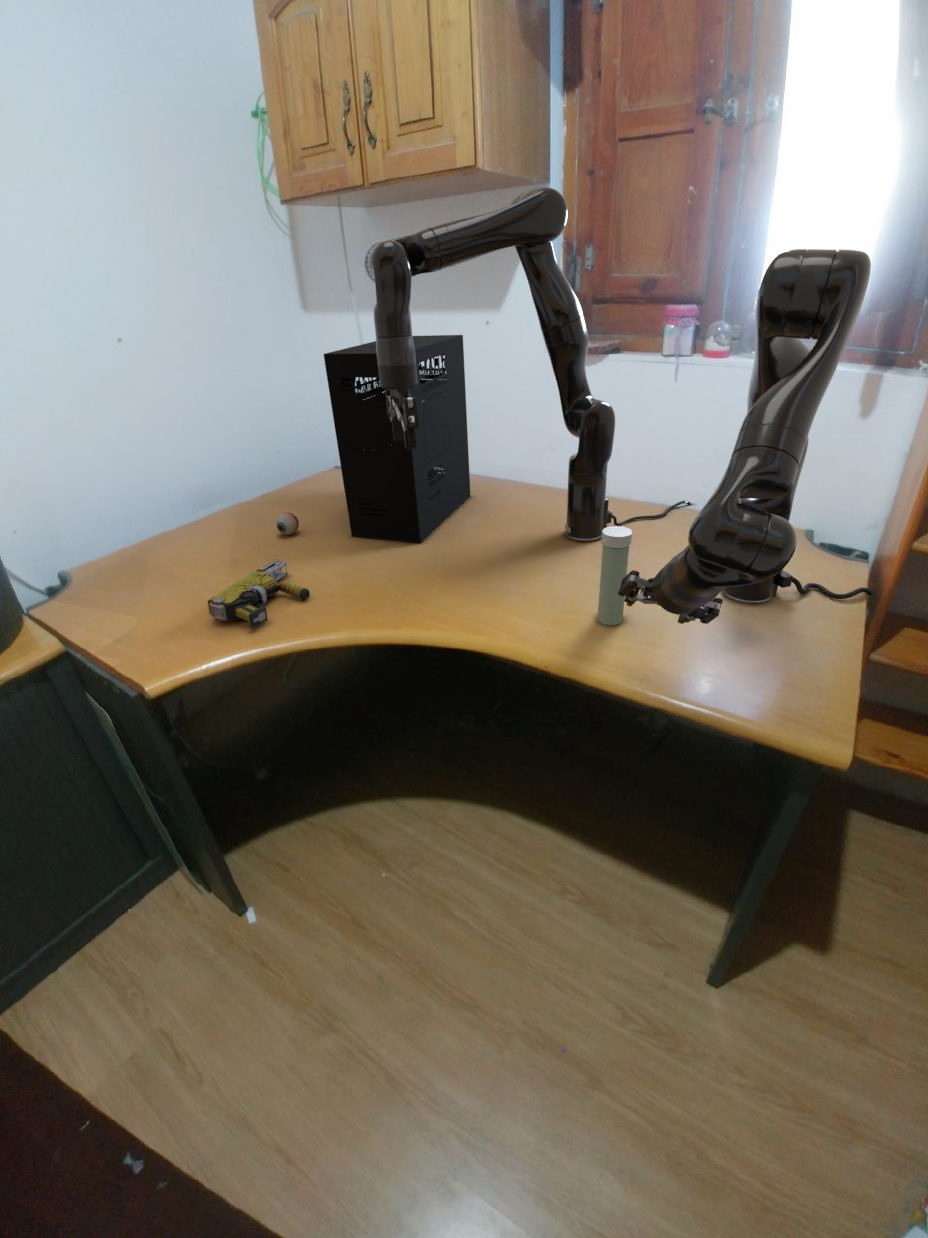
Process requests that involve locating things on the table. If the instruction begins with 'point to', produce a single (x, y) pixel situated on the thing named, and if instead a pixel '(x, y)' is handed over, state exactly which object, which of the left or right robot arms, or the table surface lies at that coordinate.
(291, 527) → the eyeball
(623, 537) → the lid
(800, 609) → the table surface
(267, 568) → the toy gun
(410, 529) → the cardboard box
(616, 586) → the jar
